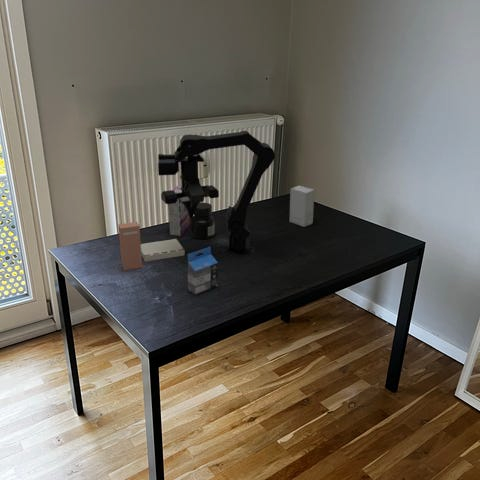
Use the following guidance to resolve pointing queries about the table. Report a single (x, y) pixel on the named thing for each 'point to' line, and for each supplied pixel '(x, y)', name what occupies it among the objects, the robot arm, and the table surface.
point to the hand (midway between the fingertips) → (190, 217)
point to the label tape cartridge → (202, 271)
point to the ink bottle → (202, 222)
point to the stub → (130, 245)
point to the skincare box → (301, 205)
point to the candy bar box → (178, 216)
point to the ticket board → (161, 250)
